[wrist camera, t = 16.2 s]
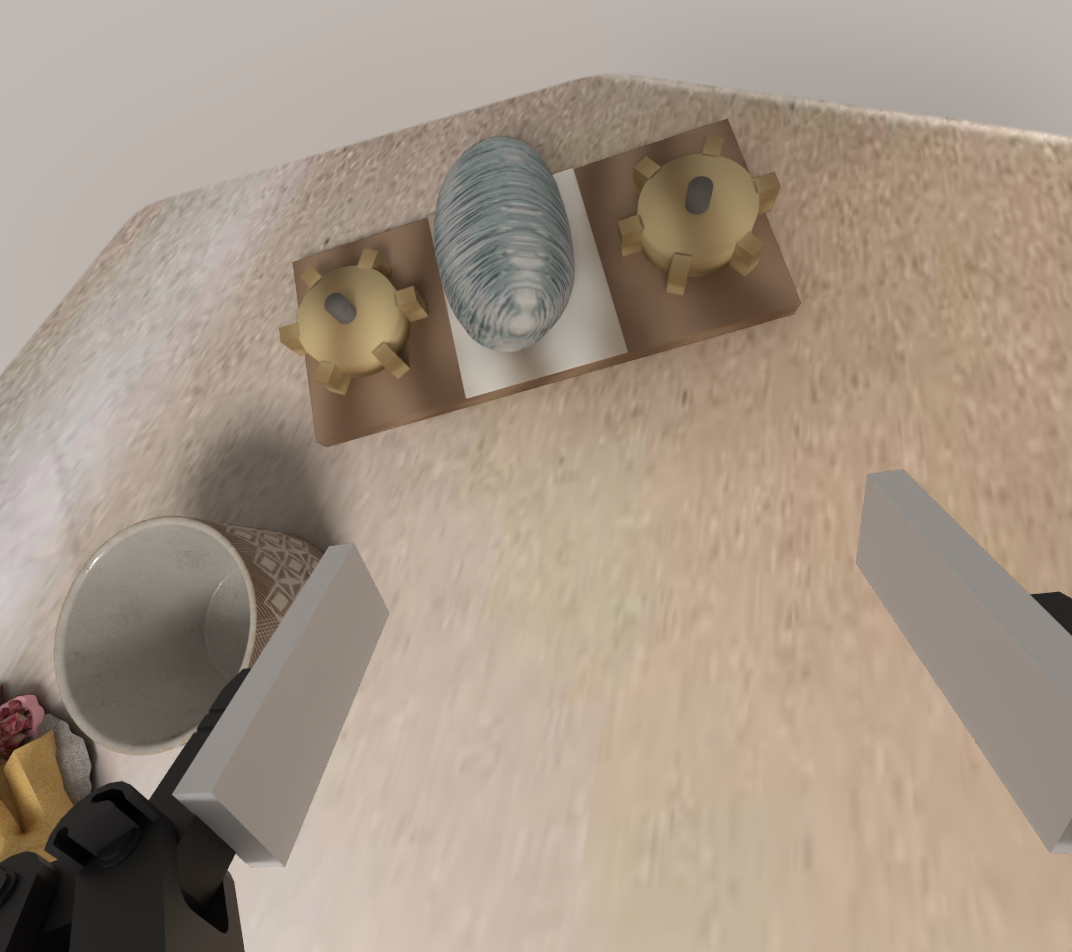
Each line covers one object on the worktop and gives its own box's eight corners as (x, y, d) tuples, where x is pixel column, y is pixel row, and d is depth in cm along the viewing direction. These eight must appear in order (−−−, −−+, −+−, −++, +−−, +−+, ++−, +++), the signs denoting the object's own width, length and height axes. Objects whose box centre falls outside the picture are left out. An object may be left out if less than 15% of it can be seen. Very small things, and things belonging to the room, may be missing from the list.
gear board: (729, 133, 41) (744, 65, 35) (799, 312, 37) (829, 266, 32) (299, 274, 45) (255, 232, 39) (322, 448, 41) (277, 427, 36)
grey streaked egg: (421, 175, 38) (441, 81, 29) (543, 193, 41) (597, 113, 32) (428, 362, 39) (449, 329, 29) (548, 366, 42) (602, 337, 32)
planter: (373, 552, 38) (284, 540, 28) (325, 731, 36) (211, 786, 26) (228, 519, 41) (100, 497, 31) (176, 684, 39) (20, 718, 29)
